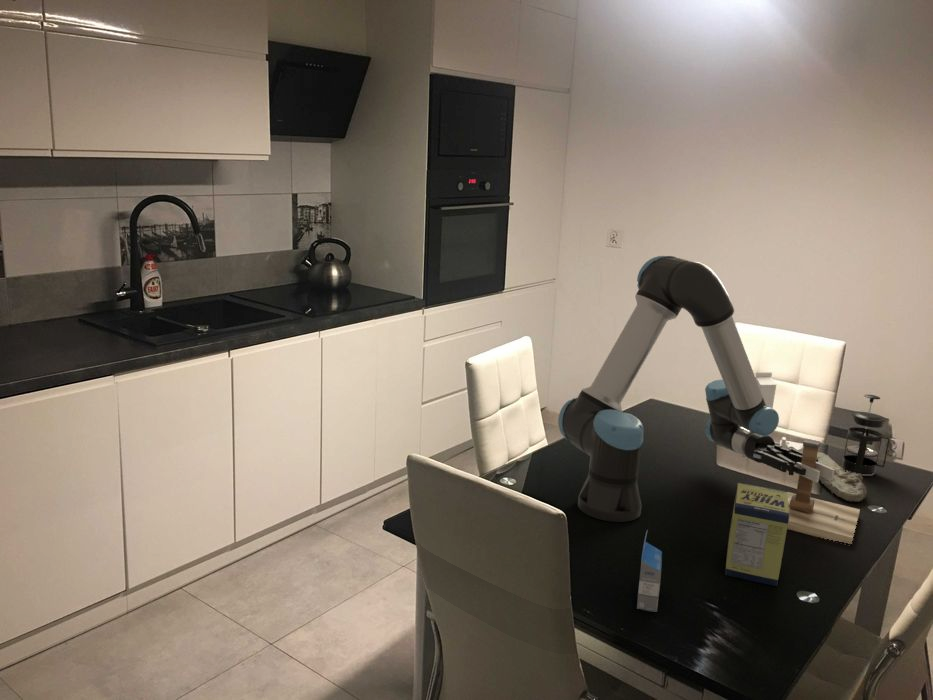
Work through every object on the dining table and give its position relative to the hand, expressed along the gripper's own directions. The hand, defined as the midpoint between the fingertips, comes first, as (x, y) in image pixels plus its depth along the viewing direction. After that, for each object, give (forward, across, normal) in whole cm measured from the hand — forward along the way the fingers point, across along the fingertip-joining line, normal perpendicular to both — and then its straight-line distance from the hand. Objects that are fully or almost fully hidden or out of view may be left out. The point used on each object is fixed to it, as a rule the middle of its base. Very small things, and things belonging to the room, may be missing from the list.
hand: (825, 475), depth 190 cm
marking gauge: (-5, 0, -10) cm, 12 cm away
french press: (-25, -45, -12) cm, 53 cm away
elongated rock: (-22, -30, -13) cm, 40 cm away
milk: (-57, -34, -12) cm, 68 cm away
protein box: (+11, +31, -13) cm, 36 cm away
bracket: (-39, -32, -12) cm, 52 cm away
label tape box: (+16, +62, -14) cm, 66 cm away
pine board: (-4, -1, -13) cm, 13 cm away
